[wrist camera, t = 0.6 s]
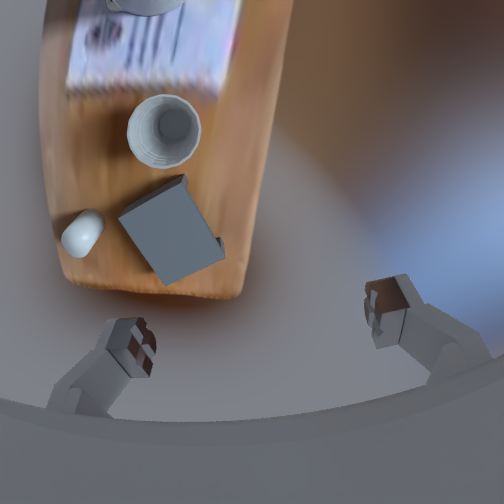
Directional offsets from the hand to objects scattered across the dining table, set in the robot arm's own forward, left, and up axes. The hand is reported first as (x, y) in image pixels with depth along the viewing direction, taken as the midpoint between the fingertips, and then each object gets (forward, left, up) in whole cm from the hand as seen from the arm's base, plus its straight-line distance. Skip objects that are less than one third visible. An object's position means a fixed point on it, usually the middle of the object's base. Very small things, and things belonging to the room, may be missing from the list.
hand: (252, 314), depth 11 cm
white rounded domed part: (+2, -30, -46) cm, 55 cm away
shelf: (+11, -15, -46) cm, 50 cm away
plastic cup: (-6, -6, -47) cm, 47 cm away
